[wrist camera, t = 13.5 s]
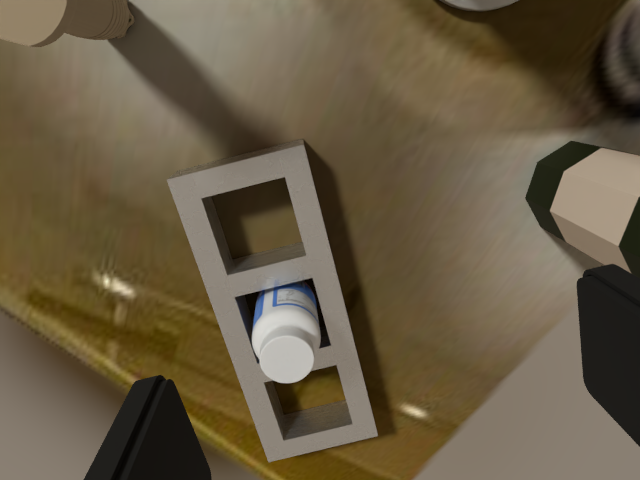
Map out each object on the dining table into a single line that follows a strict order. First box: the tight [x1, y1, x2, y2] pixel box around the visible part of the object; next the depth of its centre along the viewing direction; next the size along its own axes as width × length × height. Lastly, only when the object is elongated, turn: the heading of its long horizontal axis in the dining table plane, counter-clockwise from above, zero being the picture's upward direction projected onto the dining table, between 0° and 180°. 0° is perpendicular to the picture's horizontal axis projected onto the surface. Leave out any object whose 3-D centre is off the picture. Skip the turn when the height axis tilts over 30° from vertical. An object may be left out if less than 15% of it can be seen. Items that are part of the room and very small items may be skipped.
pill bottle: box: [252, 280, 321, 383], centre depth 39 cm, size 6×5×10 cm
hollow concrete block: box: [167, 139, 378, 462], centre depth 42 cm, size 28×11×4 cm, turn 14°
